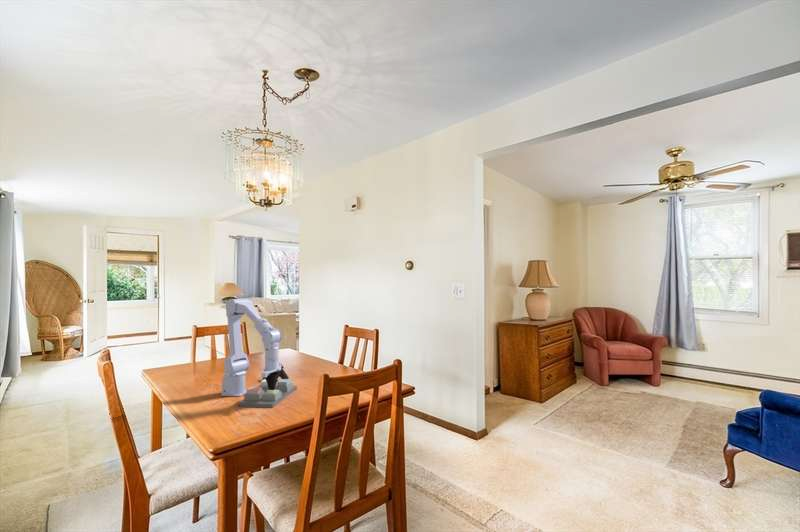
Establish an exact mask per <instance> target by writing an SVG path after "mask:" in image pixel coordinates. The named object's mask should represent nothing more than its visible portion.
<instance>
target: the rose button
mask: <svg viewBox="0 0 800 532" xmlns="http://www.w3.org/2000/svg"><path fill="white" fill-rule="evenodd" d="M258 386H259V385H258ZM258 386H249V388H247V389H246V390H247V394H254V395H257V394H259V393H260V392H262V387H258Z"/></svg>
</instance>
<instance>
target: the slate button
mask: <svg viewBox="0 0 800 532" xmlns="http://www.w3.org/2000/svg"><path fill="white" fill-rule="evenodd" d="M276 383H277V386H283V387H287V386H289V385H290V384H291V383H292V379H291V378H288V379H281V378H280V379H279V380H277V382H276Z"/></svg>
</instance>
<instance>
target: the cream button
mask: <svg viewBox="0 0 800 532" xmlns="http://www.w3.org/2000/svg"><path fill="white" fill-rule="evenodd" d="M260 385H261V386H268V385H267V381H266V379H264V380H263V379H262V380H261V381H260Z"/></svg>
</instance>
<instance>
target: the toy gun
mask: <svg viewBox="0 0 800 532" xmlns="http://www.w3.org/2000/svg"><path fill="white" fill-rule="evenodd" d="M280 364H281V370H280V371H277V372H280V375H279V377H278V378H280V380H281V379H290V378H289V376H288V374H287V373H286V371H285V369H284V368H285V367H284V365H283V364H282V363H280ZM261 378H262V380H264V379H265V378H264V377H261Z"/></svg>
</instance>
